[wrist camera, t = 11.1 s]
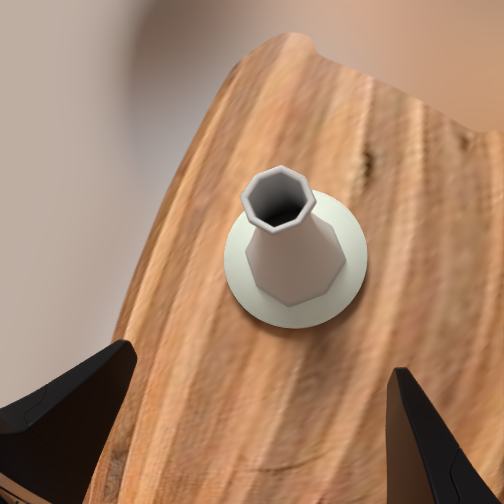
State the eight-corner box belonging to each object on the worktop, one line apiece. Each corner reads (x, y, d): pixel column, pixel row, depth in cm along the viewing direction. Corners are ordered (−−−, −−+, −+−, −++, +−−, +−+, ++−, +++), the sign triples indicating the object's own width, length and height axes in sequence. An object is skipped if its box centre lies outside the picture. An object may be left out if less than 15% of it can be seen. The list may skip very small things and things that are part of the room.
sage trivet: (378, 313, 20) (381, 312, 20) (236, 338, 22) (233, 338, 21) (346, 183, 24) (347, 177, 23) (221, 209, 26) (217, 204, 25)
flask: (363, 262, 21) (394, 206, 11) (286, 325, 21) (260, 318, 11) (301, 195, 23) (287, 110, 14) (229, 251, 23) (172, 195, 14)
